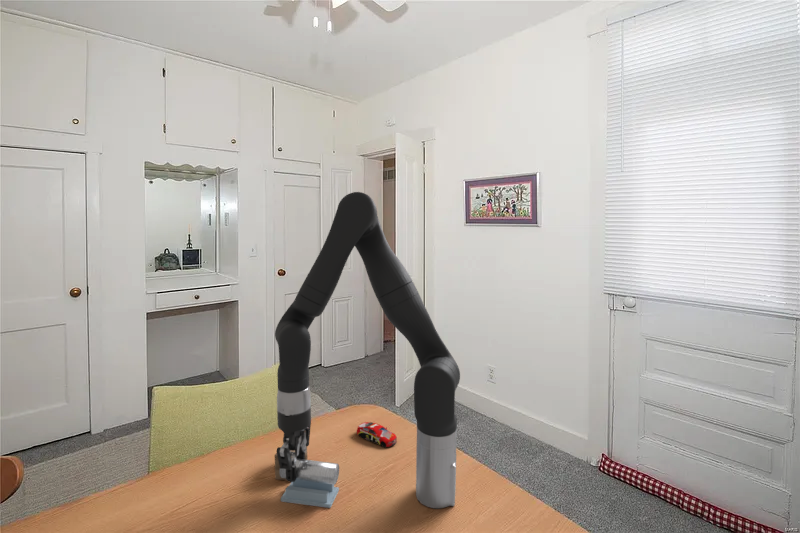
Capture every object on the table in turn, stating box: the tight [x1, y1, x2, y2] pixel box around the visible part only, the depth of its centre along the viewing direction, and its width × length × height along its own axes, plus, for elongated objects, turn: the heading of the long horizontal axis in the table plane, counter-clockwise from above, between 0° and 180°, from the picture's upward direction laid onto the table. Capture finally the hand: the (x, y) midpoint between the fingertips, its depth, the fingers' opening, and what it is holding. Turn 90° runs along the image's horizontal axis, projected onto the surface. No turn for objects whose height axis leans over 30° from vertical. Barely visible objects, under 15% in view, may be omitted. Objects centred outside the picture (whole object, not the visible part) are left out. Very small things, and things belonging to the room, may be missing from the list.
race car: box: [356, 421, 398, 449], centre depth 122 cm, size 13×5×4 cm, turn 54°
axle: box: [280, 458, 340, 486], centre depth 96 cm, size 13×4×4 cm, turn 80°
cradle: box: [280, 480, 340, 509], centre depth 97 cm, size 12×6×3 cm, turn 80°
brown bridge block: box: [274, 446, 308, 481], centre depth 106 cm, size 5×8×6 cm, turn 170°
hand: (295, 473), depth 97 cm, fingers closed on axle, 4 cm apart
